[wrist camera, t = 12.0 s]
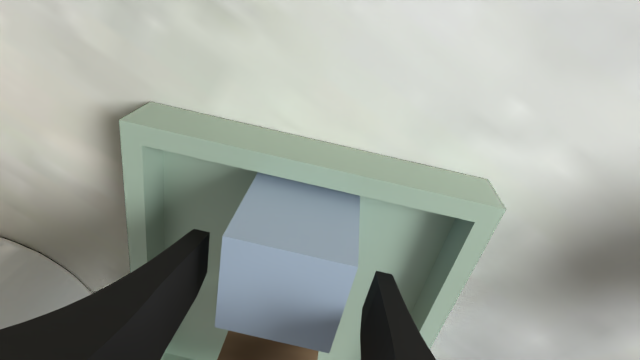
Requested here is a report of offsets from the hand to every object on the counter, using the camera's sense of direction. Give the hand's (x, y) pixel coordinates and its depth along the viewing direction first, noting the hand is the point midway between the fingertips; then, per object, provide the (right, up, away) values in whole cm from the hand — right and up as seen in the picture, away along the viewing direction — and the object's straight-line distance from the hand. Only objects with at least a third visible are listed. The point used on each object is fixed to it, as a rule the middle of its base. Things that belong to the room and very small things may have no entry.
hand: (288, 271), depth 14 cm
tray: (0, -2, +5) cm, 5 cm away
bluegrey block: (0, +2, +2) cm, 3 cm away
